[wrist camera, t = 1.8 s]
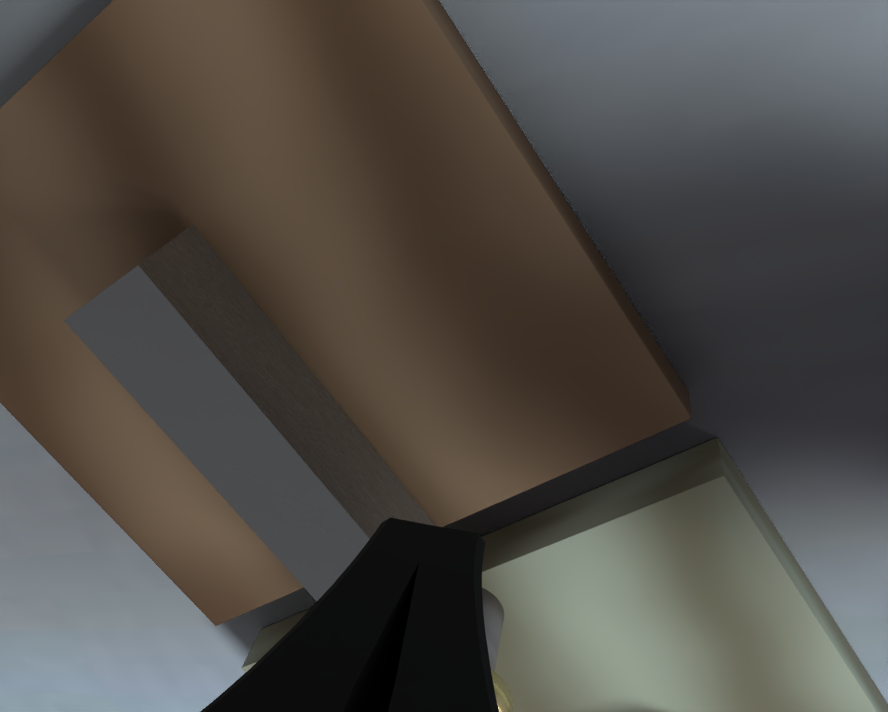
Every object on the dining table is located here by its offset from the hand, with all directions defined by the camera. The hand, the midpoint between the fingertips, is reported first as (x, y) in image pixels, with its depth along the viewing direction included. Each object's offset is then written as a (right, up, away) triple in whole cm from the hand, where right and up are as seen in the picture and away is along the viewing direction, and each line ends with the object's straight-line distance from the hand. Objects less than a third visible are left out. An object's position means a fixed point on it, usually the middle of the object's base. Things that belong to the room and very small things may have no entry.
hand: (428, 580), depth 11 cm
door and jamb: (-1, -1, +12) cm, 12 cm away
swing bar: (-2, 0, +10) cm, 10 cm away
